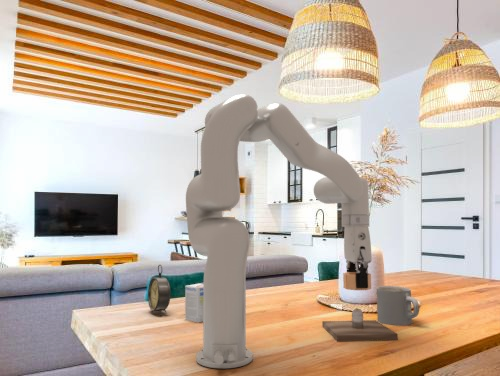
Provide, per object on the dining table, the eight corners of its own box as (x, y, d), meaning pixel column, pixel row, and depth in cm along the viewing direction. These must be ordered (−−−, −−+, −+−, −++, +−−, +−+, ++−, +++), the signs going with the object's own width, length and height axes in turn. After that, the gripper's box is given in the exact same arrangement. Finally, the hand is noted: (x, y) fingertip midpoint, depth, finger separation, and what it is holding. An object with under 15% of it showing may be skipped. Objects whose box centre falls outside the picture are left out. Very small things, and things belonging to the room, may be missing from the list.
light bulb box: (208, 314, 137) (208, 281, 138) (223, 316, 133) (223, 283, 134) (183, 319, 129) (184, 285, 130) (198, 323, 125) (199, 287, 126)
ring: (374, 290, 111) (373, 275, 111) (348, 290, 111) (348, 275, 111) (365, 285, 118) (364, 271, 118) (341, 286, 118) (340, 272, 118)
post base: (397, 339, 106) (397, 314, 107) (337, 341, 105) (336, 315, 106) (375, 325, 121) (375, 303, 122) (322, 326, 120) (322, 303, 121)
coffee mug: (370, 319, 129) (370, 287, 130) (396, 316, 132) (395, 285, 133) (400, 329, 116) (399, 293, 117) (427, 326, 120) (426, 291, 121)
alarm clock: (146, 311, 141) (147, 263, 142) (161, 309, 144) (162, 262, 145) (157, 317, 132) (157, 266, 133) (173, 315, 134) (173, 265, 136)
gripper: (380, 221, 107) (382, 290, 106) (358, 221, 125) (359, 281, 123) (352, 221, 107) (354, 291, 106) (333, 221, 124) (335, 281, 123)
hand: (357, 285), depth 114 cm, fingers closed on ring, 7 cm apart
